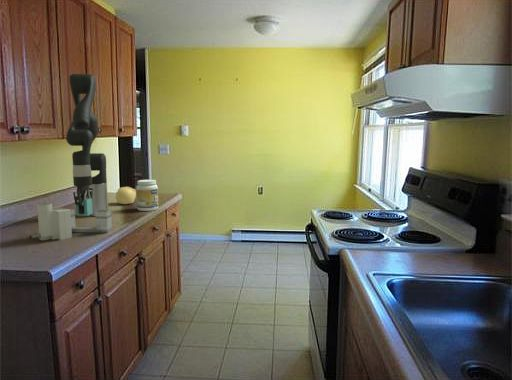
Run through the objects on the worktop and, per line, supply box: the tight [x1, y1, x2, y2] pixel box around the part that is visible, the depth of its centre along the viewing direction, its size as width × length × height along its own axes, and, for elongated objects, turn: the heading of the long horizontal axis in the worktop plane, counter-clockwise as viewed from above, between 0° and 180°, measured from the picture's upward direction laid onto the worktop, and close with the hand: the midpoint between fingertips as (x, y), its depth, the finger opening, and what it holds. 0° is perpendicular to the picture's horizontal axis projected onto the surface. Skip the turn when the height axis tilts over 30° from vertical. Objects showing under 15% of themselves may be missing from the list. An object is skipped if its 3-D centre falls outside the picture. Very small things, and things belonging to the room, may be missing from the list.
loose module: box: [75, 198, 93, 217], centre depth 172 cm, size 5×5×7 cm
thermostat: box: [29, 202, 73, 241], centre depth 161 cm, size 12×14×15 cm
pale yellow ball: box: [115, 186, 136, 205], centre depth 240 cm, size 12×12×11 cm
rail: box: [68, 208, 113, 234], centre depth 173 cm, size 5×22×10 cm, turn 89°
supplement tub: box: [135, 179, 159, 212], centre depth 222 cm, size 12×12×17 cm
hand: (84, 212), depth 173 cm, fingers closed on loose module, 5 cm apart
